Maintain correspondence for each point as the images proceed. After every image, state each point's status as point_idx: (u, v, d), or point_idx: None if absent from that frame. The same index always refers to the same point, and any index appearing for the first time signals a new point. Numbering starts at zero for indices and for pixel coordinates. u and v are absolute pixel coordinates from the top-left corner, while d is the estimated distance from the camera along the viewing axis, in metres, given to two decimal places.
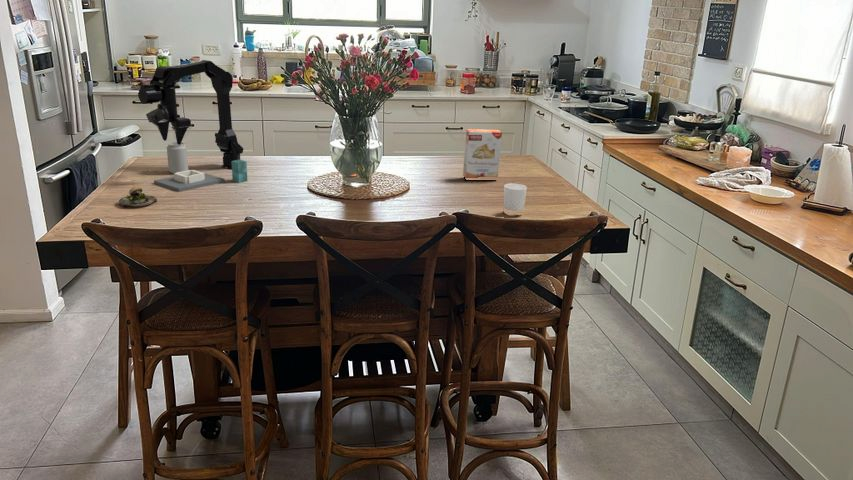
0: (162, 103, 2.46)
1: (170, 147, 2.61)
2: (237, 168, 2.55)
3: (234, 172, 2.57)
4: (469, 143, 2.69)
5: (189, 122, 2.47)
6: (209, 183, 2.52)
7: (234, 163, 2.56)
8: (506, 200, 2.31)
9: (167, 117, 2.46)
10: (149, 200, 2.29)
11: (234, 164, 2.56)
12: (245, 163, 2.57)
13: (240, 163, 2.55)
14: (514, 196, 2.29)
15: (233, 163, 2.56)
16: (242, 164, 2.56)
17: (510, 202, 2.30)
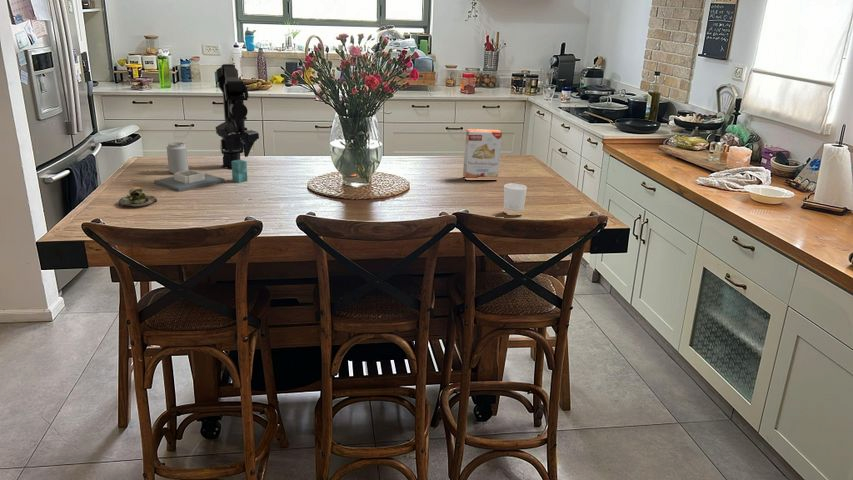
0: (231, 116, 2.48)
1: (170, 147, 2.61)
2: (237, 168, 2.55)
3: (234, 172, 2.57)
4: (469, 143, 2.69)
5: (257, 135, 2.50)
6: (209, 183, 2.52)
7: (234, 163, 2.56)
8: (506, 200, 2.31)
9: (236, 130, 2.49)
10: (149, 200, 2.29)
11: (234, 165, 2.56)
12: (245, 163, 2.57)
13: (240, 163, 2.55)
14: (514, 196, 2.29)
15: (233, 163, 2.56)
16: (242, 164, 2.56)
17: (510, 202, 2.30)
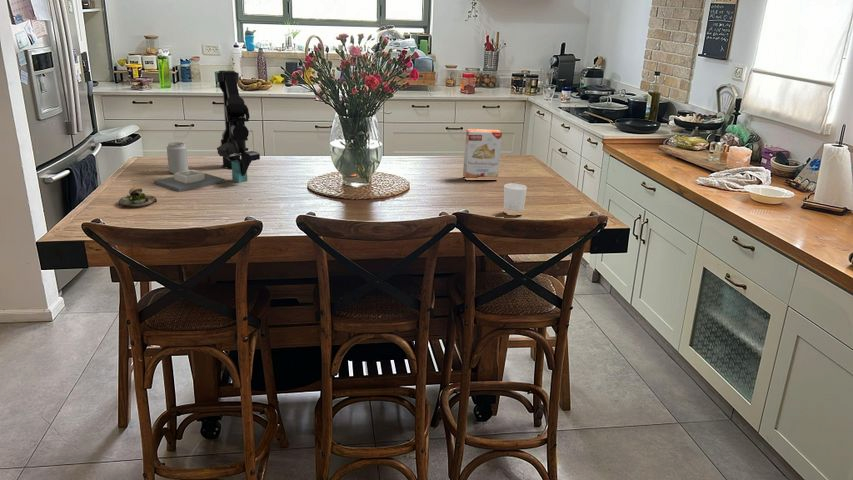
0: (232, 137, 2.51)
1: (170, 147, 2.61)
2: (237, 168, 2.55)
3: (234, 172, 2.57)
4: (469, 143, 2.69)
5: (258, 156, 2.52)
6: (209, 183, 2.52)
7: (234, 163, 2.56)
8: (506, 200, 2.31)
9: (237, 151, 2.51)
10: (149, 200, 2.29)
11: (234, 164, 2.56)
12: None
13: None
14: (514, 196, 2.29)
15: (233, 163, 2.56)
16: None
17: (510, 202, 2.30)
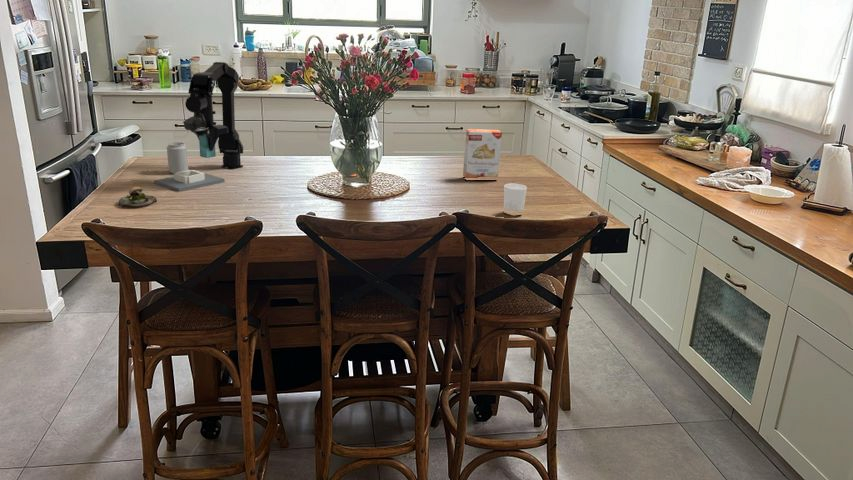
0: (199, 110, 2.44)
1: (170, 147, 2.61)
2: (205, 143, 2.48)
3: (202, 146, 2.50)
4: (469, 143, 2.69)
5: (226, 129, 2.46)
6: (209, 183, 2.52)
7: (201, 137, 2.49)
8: (506, 200, 2.31)
9: (204, 124, 2.45)
10: (149, 200, 2.29)
11: (201, 139, 2.49)
12: None
13: None
14: (514, 196, 2.29)
15: (200, 138, 2.49)
16: None
17: (510, 202, 2.30)
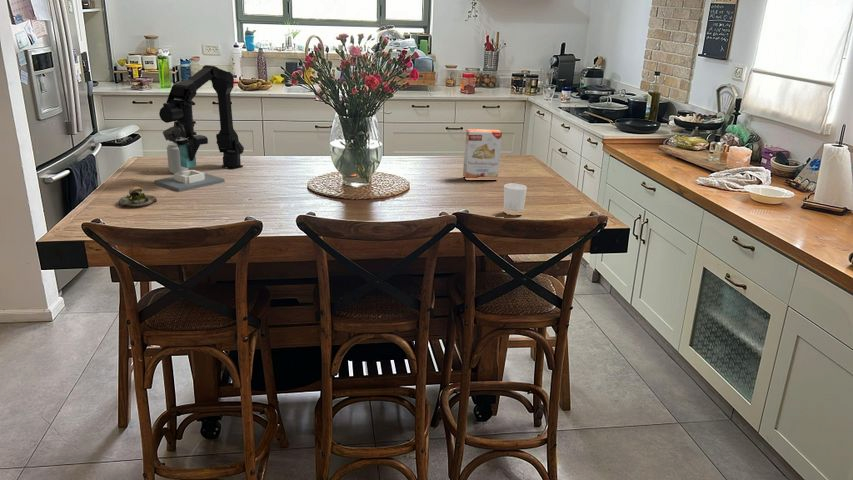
0: (179, 121, 2.44)
1: (170, 147, 2.61)
2: (185, 153, 2.48)
3: (182, 156, 2.49)
4: (469, 143, 2.69)
5: (206, 140, 2.45)
6: (209, 183, 2.52)
7: (182, 147, 2.48)
8: (506, 200, 2.31)
9: (184, 135, 2.44)
10: (149, 200, 2.29)
11: (182, 149, 2.48)
12: None
13: None
14: (514, 196, 2.29)
15: (181, 147, 2.48)
16: None
17: (510, 202, 2.30)
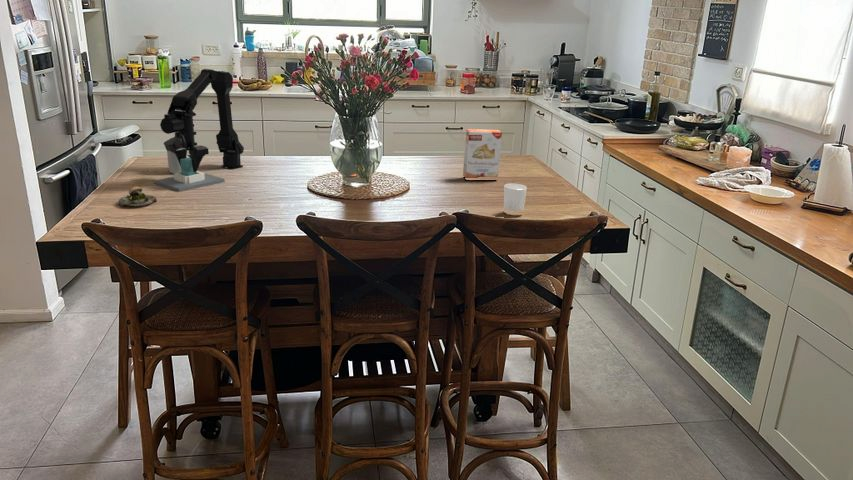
0: (180, 131, 2.45)
1: None
2: (186, 166, 2.49)
3: (183, 170, 2.51)
4: (469, 143, 2.69)
5: (207, 150, 2.46)
6: (209, 183, 2.52)
7: (183, 161, 2.50)
8: (506, 200, 2.31)
9: (185, 145, 2.45)
10: (149, 200, 2.29)
11: (183, 163, 2.50)
12: None
13: (189, 161, 2.49)
14: (514, 197, 2.29)
15: (182, 161, 2.50)
16: (191, 162, 2.50)
17: (510, 202, 2.30)
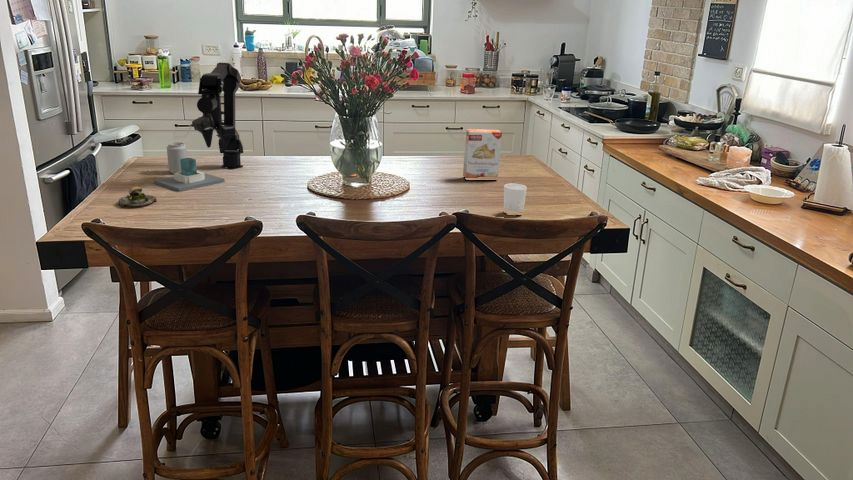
0: None
1: (170, 147, 2.61)
2: (186, 166, 2.49)
3: (183, 170, 2.51)
4: (469, 143, 2.69)
5: (234, 130, 2.48)
6: (209, 183, 2.52)
7: (183, 161, 2.50)
8: (506, 200, 2.31)
9: (212, 125, 2.48)
10: (149, 200, 2.29)
11: (183, 163, 2.50)
12: (194, 161, 2.51)
13: (189, 161, 2.49)
14: (514, 196, 2.29)
15: (182, 161, 2.50)
16: (191, 162, 2.50)
17: (510, 202, 2.30)
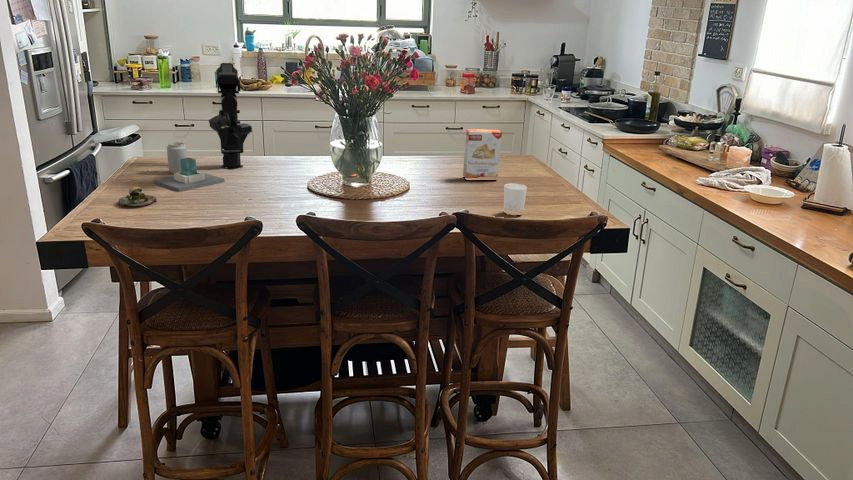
0: (224, 109, 2.50)
1: (170, 147, 2.61)
2: (186, 166, 2.49)
3: (183, 170, 2.51)
4: (469, 143, 2.69)
5: (250, 128, 2.51)
6: (209, 183, 2.52)
7: (183, 161, 2.50)
8: (506, 200, 2.31)
9: (229, 123, 2.50)
10: (149, 200, 2.29)
11: (183, 163, 2.50)
12: (194, 161, 2.51)
13: (189, 161, 2.49)
14: (515, 196, 2.29)
15: (182, 161, 2.50)
16: (191, 162, 2.50)
17: (510, 202, 2.30)
